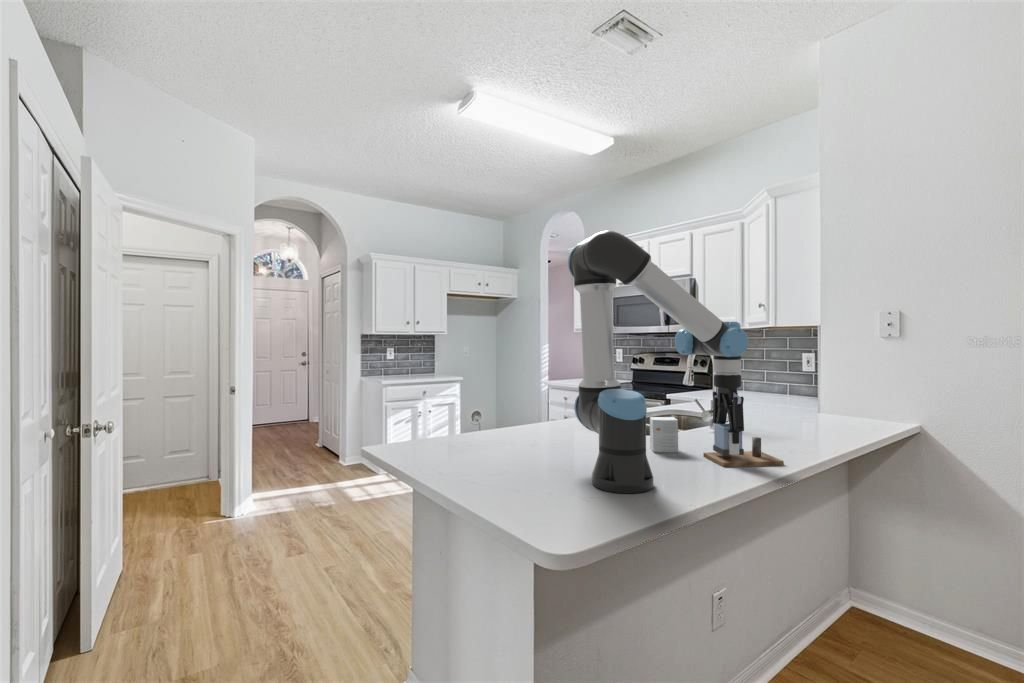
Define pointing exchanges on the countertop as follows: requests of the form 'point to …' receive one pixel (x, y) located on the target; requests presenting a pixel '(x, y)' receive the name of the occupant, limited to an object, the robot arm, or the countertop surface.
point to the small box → (663, 434)
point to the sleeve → (724, 439)
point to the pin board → (745, 457)
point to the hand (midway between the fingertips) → (727, 451)
